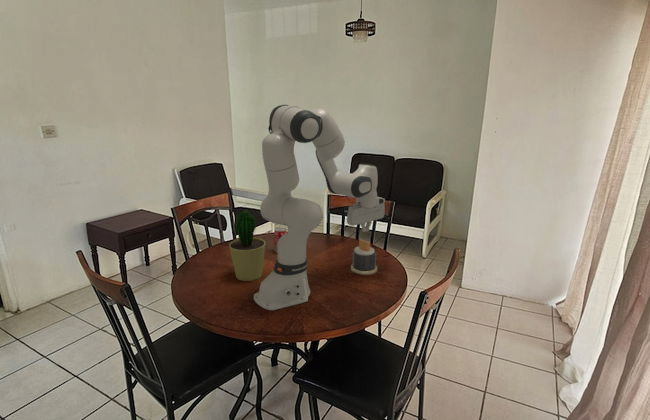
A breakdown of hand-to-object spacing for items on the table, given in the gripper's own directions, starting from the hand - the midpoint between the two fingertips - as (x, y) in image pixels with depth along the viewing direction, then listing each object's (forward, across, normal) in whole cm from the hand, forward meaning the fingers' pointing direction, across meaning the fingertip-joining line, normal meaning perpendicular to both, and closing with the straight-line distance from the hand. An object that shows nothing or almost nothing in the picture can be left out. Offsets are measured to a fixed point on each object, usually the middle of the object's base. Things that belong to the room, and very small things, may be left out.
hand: (365, 231), depth 163 cm
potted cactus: (+18, -44, +27) cm, 55 cm away
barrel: (+18, 0, 0) cm, 19 cm away
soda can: (+19, -18, +42) cm, 49 cm away
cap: (+13, 0, 0) cm, 13 cm away
